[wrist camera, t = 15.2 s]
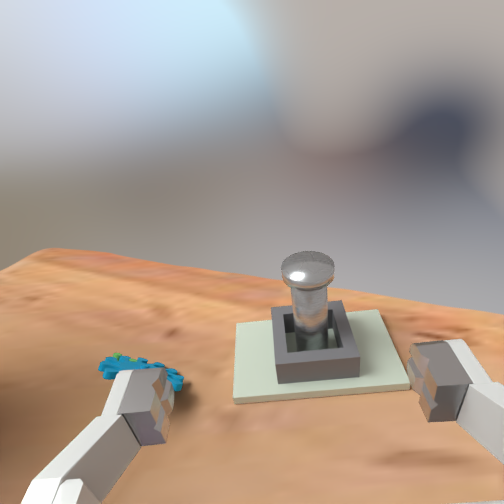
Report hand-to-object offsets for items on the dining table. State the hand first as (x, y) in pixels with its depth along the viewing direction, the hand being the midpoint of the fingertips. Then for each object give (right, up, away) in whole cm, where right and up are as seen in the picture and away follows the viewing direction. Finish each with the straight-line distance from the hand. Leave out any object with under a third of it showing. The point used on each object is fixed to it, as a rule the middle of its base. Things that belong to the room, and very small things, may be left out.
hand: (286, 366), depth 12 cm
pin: (+7, -9, +33) cm, 34 cm away
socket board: (+7, -10, +33) cm, 35 cm away
